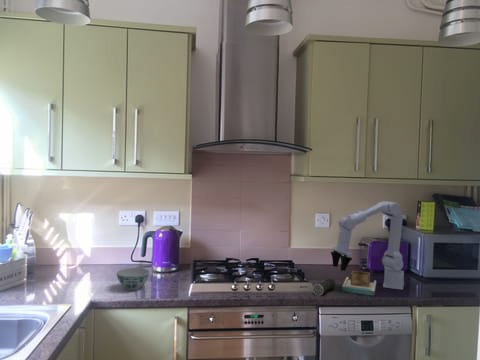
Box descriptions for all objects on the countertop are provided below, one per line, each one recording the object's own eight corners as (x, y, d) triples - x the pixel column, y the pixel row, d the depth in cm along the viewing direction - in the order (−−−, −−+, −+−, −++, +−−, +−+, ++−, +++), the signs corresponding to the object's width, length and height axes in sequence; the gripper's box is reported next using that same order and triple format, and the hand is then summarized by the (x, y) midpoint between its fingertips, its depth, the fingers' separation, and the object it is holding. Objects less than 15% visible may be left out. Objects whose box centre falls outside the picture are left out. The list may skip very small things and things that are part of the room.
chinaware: (139, 294, 175) (140, 277, 175) (110, 291, 179) (110, 274, 179) (154, 285, 190) (154, 269, 190) (126, 282, 193) (127, 266, 193)
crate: (369, 283, 202) (370, 272, 201) (368, 286, 195) (369, 276, 195) (351, 280, 205) (352, 270, 205) (350, 284, 198) (350, 273, 198)
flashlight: (326, 287, 196) (326, 276, 196) (336, 289, 193) (336, 278, 193) (312, 294, 184) (312, 283, 184) (322, 296, 181) (323, 285, 180)
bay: (376, 284, 203) (376, 280, 203) (373, 295, 184) (374, 291, 184) (346, 280, 208) (346, 276, 208) (341, 291, 190) (341, 286, 190)
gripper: (329, 237, 198) (324, 263, 198) (344, 243, 184) (339, 271, 184) (341, 239, 200) (336, 265, 199) (357, 245, 186) (352, 273, 186)
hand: (338, 268), depth 192 cm, fingers open, 7 cm apart
